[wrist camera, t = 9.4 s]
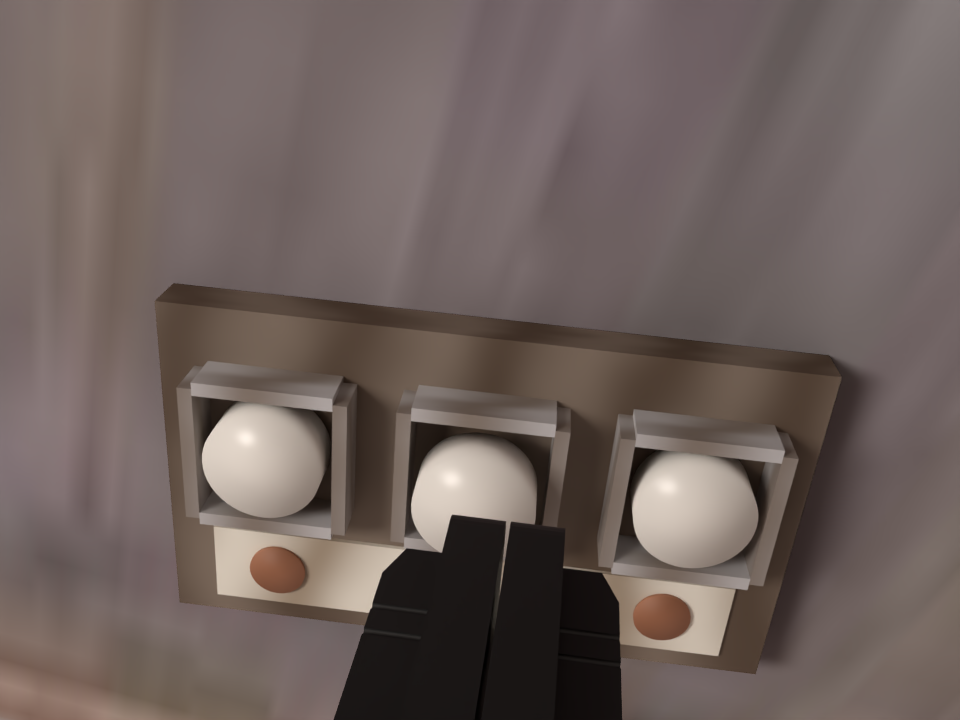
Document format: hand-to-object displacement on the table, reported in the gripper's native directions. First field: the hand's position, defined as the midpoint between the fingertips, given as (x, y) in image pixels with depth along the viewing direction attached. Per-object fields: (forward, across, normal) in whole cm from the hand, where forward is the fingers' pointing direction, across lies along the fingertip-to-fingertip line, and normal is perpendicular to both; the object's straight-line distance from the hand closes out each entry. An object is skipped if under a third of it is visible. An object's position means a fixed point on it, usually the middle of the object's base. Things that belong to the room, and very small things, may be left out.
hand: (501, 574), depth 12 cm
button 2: (+24, -7, +14) cm, 28 cm away
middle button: (+22, +2, +14) cm, 26 cm away
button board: (+26, +2, +16) cm, 30 cm away
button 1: (+23, +11, +14) cm, 29 cm away
